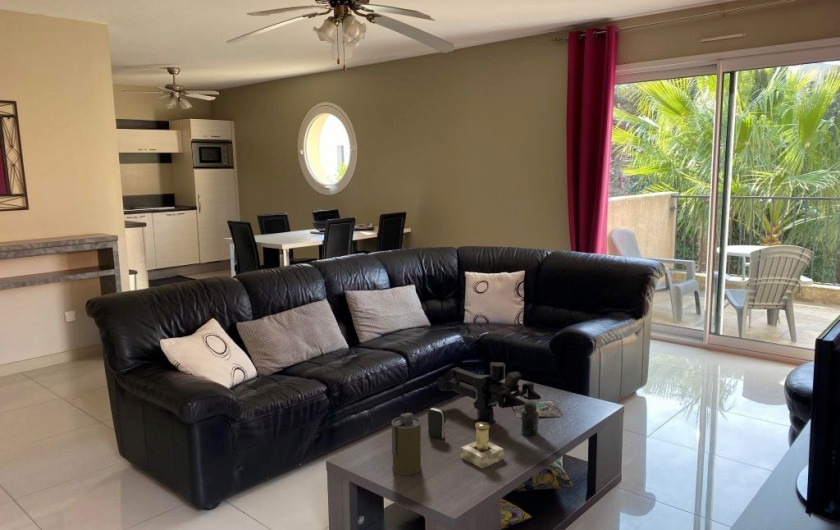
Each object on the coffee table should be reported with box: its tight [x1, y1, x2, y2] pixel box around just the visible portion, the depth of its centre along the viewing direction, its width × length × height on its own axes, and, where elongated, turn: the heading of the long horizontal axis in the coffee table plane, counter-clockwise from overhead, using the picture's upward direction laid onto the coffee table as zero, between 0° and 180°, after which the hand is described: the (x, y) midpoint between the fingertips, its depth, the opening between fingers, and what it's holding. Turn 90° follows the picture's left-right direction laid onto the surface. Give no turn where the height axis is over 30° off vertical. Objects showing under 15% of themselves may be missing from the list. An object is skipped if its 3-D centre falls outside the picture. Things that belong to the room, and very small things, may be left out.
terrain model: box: [511, 400, 565, 419], centre depth 268 cm, size 20×15×3 cm
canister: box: [391, 412, 422, 476], centre depth 216 cm, size 11×10×20 cm
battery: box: [427, 407, 447, 440], centre depth 243 cm, size 7×4×11 cm, turn 53°
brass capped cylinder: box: [474, 422, 491, 453], centre depth 224 cm, size 5×5×13 cm
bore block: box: [460, 441, 505, 469], centre depth 225 cm, size 11×11×4 cm
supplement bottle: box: [520, 403, 540, 437], centre depth 245 cm, size 7×7×12 cm
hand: (532, 400), depth 236 cm, fingers open, 9 cm apart
